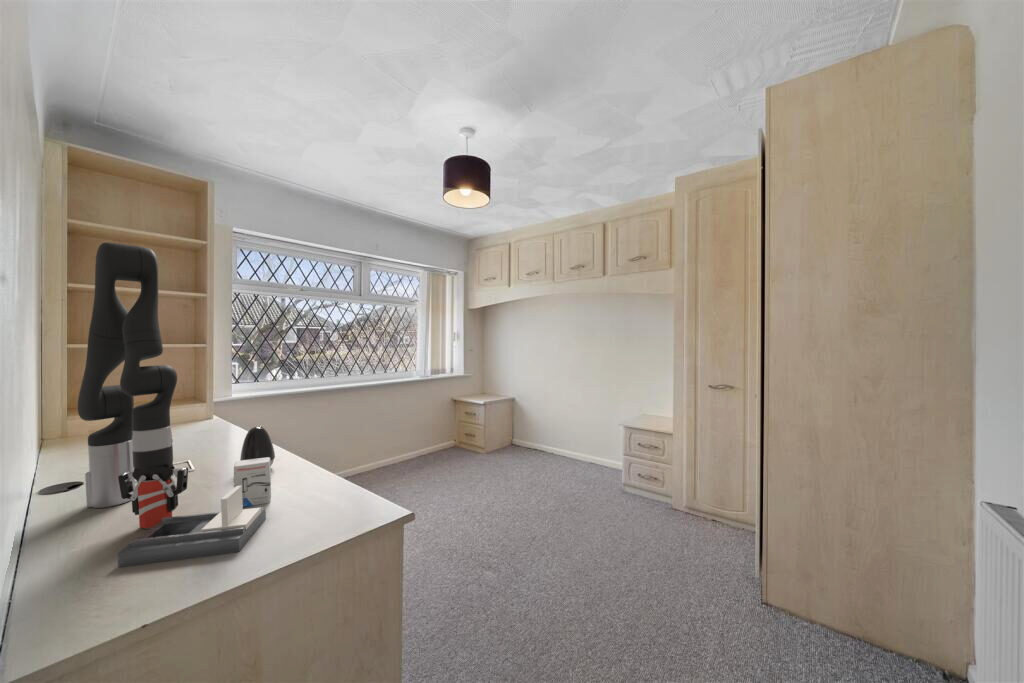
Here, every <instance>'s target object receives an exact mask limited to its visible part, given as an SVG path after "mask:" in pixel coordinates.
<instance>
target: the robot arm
mask: <svg viewBox="0 0 1024 683" xmlns="http://www.w3.org/2000/svg"><path fill="white" fill-rule="evenodd" d="M116 281H123V282H125V281H126V282H138V283H140V294H139V296H138V298H136V302H134V304H133V306H132V307H131V308H130V310H128V309H127V308H126V307H125V305H124V304H123V303H122V301H121V300H120V298H119V296H118V294H117V291H116V283H117V282H116ZM93 298H94V299H93V306H92V312H91V320H90V324H89V330H88V336H87V337H88V338H87V347H86V348H87V350H86V360H85V368H84V372H83V377H82V381H81V385H80V389H79V393H78V397H77V398H78V399H77V414H78V415H79V418H81V420H83V421H85V422H86V421H87V422H93V421H100V420H106V419H107V420H109V419H113V420H112V422H111V423H109V424H108V425H107V426H105V427H103V428H101V429H98V430H96V431H94V432H92V433H90V434H89V435H88V436H87V445H88V446H87V450H88V454H87V455H88V468H89V469H88V471H87V472H86V473H85V474H84V475H85V476H84V479H85V480H84V481H85V497H86V498H85V499H86V507H87V508H95V509H98V508H99V509H100V508H101V509H102V508H108V507H109V508H110V507H113V506H118V505H121V504H124V503H128V502H130V501H131V511H132V513H134V515H135V516H139V505H138V486H139V485H140V483H141V481H148V480H156V479H157V481H159V482H161V484H162V485H163V490H165V492H166V493H167V495H168V496H169V497H168V498H167V503H168V512H171V511H172V512H173V511H175V509H177V508H178V506H179V497H178V496H179V495H180V494H182V493H183V492H185V491H186V490H187V489H188V481H189V480H188V477H189V472H188V470H189V468H188V467H187V466H183V467H181V468H176V467H175V465H173V463H174V450H173V449H174V445H173V442H174V441H173V433H172V429H171V428H172V427H171V413H170V412H171V404H172V400H173V396H174V393H175V389H176V386H177V382H178V374H177V371H176V370H175V368H174V367H173V366H171V365H168V364H160V365H159V364H158V365H157V364H156V365H145V366H141V365H140V363H141V362H142V361H145V360H151V359H153V358H158V357H159V356H161V355H162V354H163V353H164V352H163V351H164V348H163V341H162V334H161V330H160V324H159V322H160V321H159V264H158V259H157V255H156V253H155V252H154V251H153V250H152V248H149V247H144V246H138V245H131V244H124V243H116V242H114V243H113V242H108V241H107V242H102V243H101V244H100V245H99V246H98V248H97V251H96V255H95V268H94V296H93ZM123 362H124V363H123ZM122 363H123V368H122V372H121V376H120V380H119V384H116V385H115V384H114V385H104V383H105V381H106V380H107V378H108V377H109V376H110V374H111V373H112V372H113V371H114V370H116V368H118V367H119V366H120V365H121V364H122ZM155 394H156V395H155ZM145 395H155V398H154V399H153V400H151V401H149V402H146V403H142V404H139V405H137V406H135V407H134V402H135V400H134V397H137V396H145ZM173 473H174V474H175V475H173ZM173 476H174V477H175V478H176V482H175V480H174V478H172V477H173ZM135 480H136V481H137V482H136V483H137V484H136V483H135ZM167 480H170V484H166V483H165V482H166V481H167Z"/></svg>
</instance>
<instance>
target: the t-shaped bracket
mask: <svg viewBox="0 0 1024 683" xmlns="http://www.w3.org/2000/svg"><path fill="white" fill-rule="evenodd" d="M220 510H221V511H219V512H220V513H219V514H218V515H216V516H215V517H214V518H213V519H212V520H211V521H210V522H209V523H208V524H207V525H206V526H205V527H203V528H202V529H201V532H204V531H213V530H222V529H230V528H239V527H245V530H246V529H247V528H248V527H249V526H250V525H251V524H252V522H253V521H254V520H255V519H256V518H257V517H258V515H259V514H260V513H261V508H260V507H252V508H244V507H243V501H242V486H236V487H235V488H234V487H233V488H232V489H231V490H230V491H229V492H227V493H226V494H225V495H224V496H223V497H221V498H220Z"/></svg>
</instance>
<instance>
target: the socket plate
mask: <svg viewBox="0 0 1024 683" xmlns="http://www.w3.org/2000/svg"><path fill="white" fill-rule="evenodd" d="M259 508H261V513H260V514H259V515H258V517H257V518H256V519H255V520H254V521H253V522H252V524H251V525H250V526H249V527H248V528H247V529H246V530H245V527H239V528H230V529H222V530H213V531H204V532H201V529H202V528H203V527H205V526H206V525H207V524H208V523H209V522H210V521H211V520H212V519H213V518H214V517H215V516H216V515H218V514H219V513H220V512H221V511H215V512H214V511H213V512H205V513H195V514H187V515H186V514H185V515H177V516H172V517H166V518H163V519H162V520H161V521H160V522H159V523H157V524H156V525H155V526H153V527H152V528H151V529H147V530H146V531H145V532H144V533H142V534H141V535H140V536H139V537H137V538H136V539H133V540H131V542H130V543H129V544H128V545H126V546H125V547H124V548H122V549H121V550H119V551H118V552H117V560H118V561H117V563H118V568H122V567H131V566H139V565H148V564H155V563H163V562H170V561H179V560H185V559H193V558H194V559H195V558H202V557H209V556H210V557H211V556H219V555H224V554H225V555H226V554H234V553H240V552H241V550H242V549H243V548H244V547H245V545H247V543H248V541H250V539H251V538H252V537H253V535H255V533H256V532H257V530H259V528H260V527H261V526H262V524H263V523H264V522H265V520H266V519H267V513H266V510H267V509H266V507H265V506H264V507H263V506H262V507H261V506H260V507H259Z"/></svg>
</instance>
